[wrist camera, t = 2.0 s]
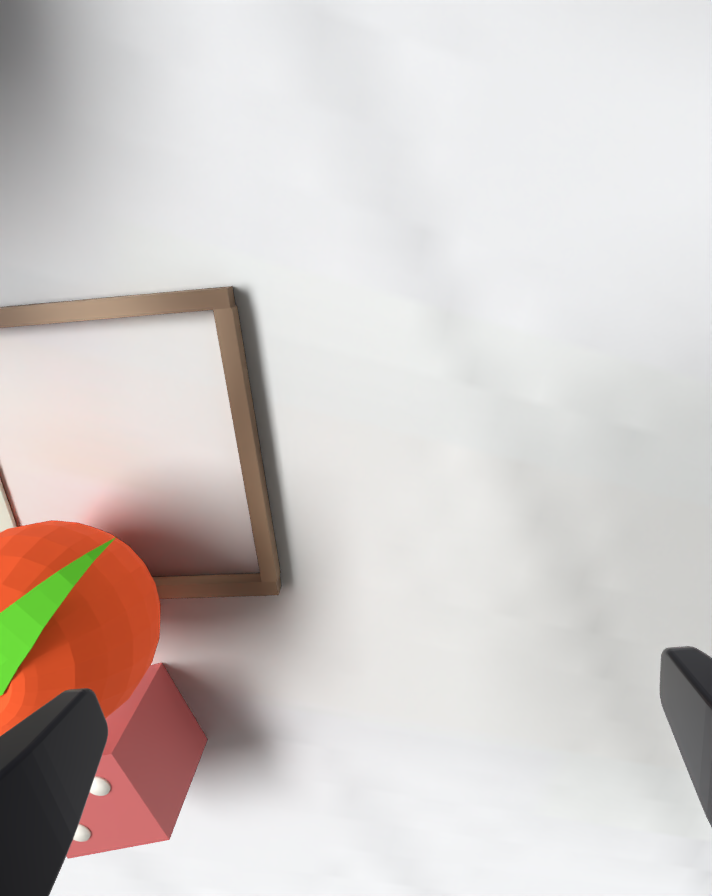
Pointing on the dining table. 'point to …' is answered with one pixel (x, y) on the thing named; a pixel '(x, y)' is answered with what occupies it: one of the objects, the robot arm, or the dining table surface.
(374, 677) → the dining table surface
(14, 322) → the wooden tray
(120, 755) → the die
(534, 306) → the dining table surface
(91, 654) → the clementine
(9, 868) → the robot arm
